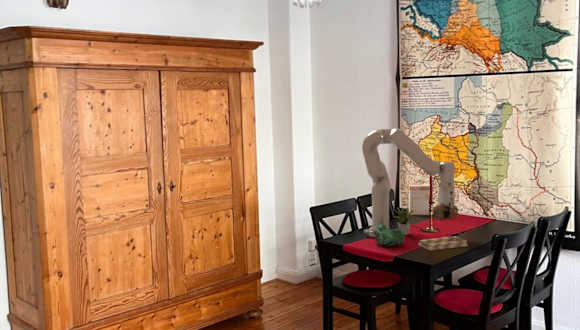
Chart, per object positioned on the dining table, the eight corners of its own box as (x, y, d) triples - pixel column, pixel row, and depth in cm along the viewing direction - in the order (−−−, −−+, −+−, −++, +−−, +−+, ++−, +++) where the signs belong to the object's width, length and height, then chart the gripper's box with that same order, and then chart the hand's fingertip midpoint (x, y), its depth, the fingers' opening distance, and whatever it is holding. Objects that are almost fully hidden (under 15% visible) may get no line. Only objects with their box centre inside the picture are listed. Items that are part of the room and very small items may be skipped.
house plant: (417, 237, 332) (417, 209, 330) (392, 237, 335) (392, 208, 333) (417, 231, 346) (417, 204, 344) (392, 230, 349) (393, 203, 347)
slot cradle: (430, 250, 307) (430, 245, 307) (418, 244, 319) (418, 239, 318) (468, 245, 315) (468, 241, 314) (454, 240, 326) (455, 235, 325)
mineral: (365, 245, 320) (366, 226, 318) (381, 239, 331) (381, 221, 330) (395, 250, 308) (396, 231, 306) (411, 244, 320) (411, 226, 318)
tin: (434, 220, 325) (435, 206, 323) (431, 219, 328) (432, 204, 326) (457, 219, 330) (459, 204, 328) (454, 217, 333) (455, 202, 331)
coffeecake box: (431, 212, 396) (431, 184, 393) (432, 215, 389) (433, 185, 386) (408, 212, 397) (408, 184, 394) (409, 215, 390) (409, 185, 387)
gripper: (461, 186, 319) (459, 219, 322) (444, 181, 334) (442, 213, 337) (449, 187, 317) (447, 220, 320) (432, 182, 332) (430, 214, 335)
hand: (444, 216), depth 328 cm, fingers closed on tin, 2 cm apart
